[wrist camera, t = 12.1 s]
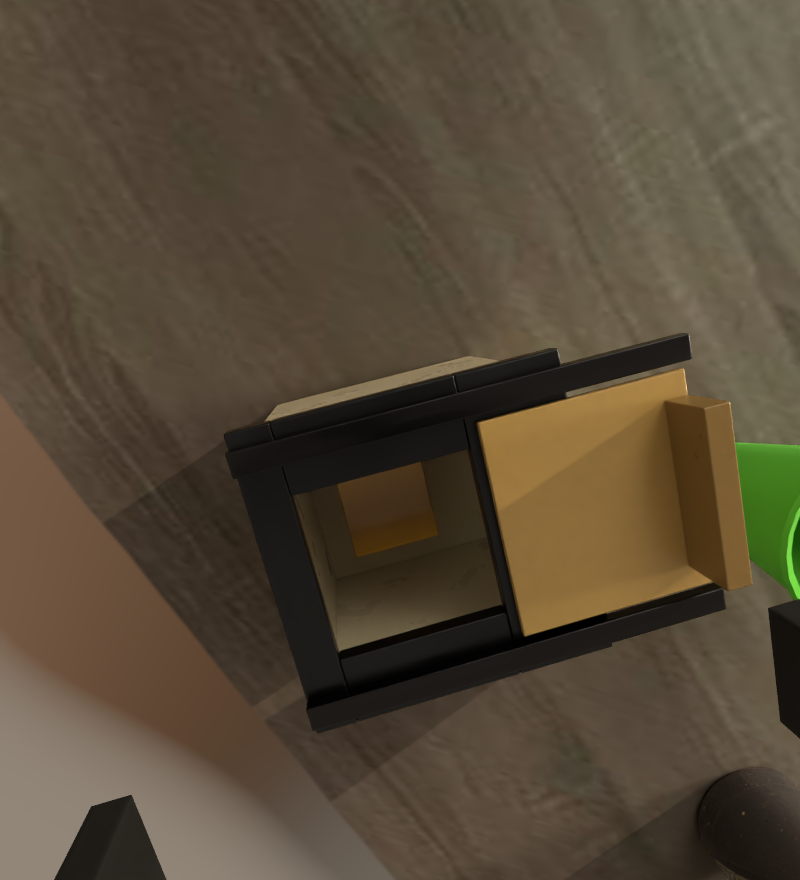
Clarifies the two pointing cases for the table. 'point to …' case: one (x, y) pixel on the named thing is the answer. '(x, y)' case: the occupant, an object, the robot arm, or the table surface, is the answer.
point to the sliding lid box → (426, 561)
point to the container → (753, 825)
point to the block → (388, 509)
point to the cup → (772, 509)
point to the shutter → (615, 499)
